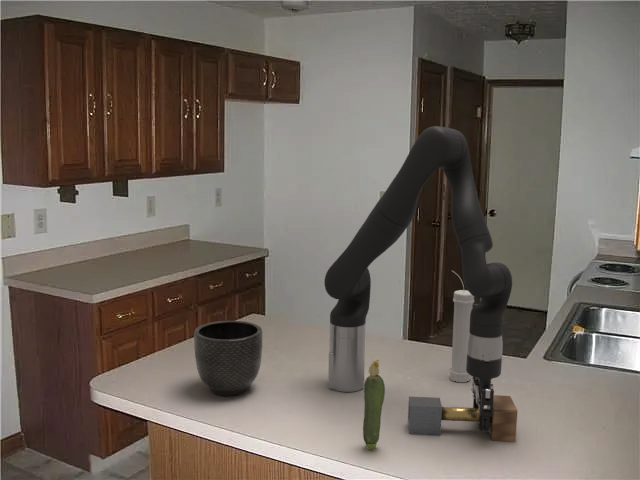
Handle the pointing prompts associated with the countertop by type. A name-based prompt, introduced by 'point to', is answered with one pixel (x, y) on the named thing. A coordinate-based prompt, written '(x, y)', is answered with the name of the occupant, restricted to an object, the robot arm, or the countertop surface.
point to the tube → (461, 414)
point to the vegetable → (373, 405)
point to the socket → (503, 419)
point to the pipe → (461, 334)
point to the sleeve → (424, 415)
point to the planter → (228, 355)
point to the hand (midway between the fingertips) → (480, 422)
